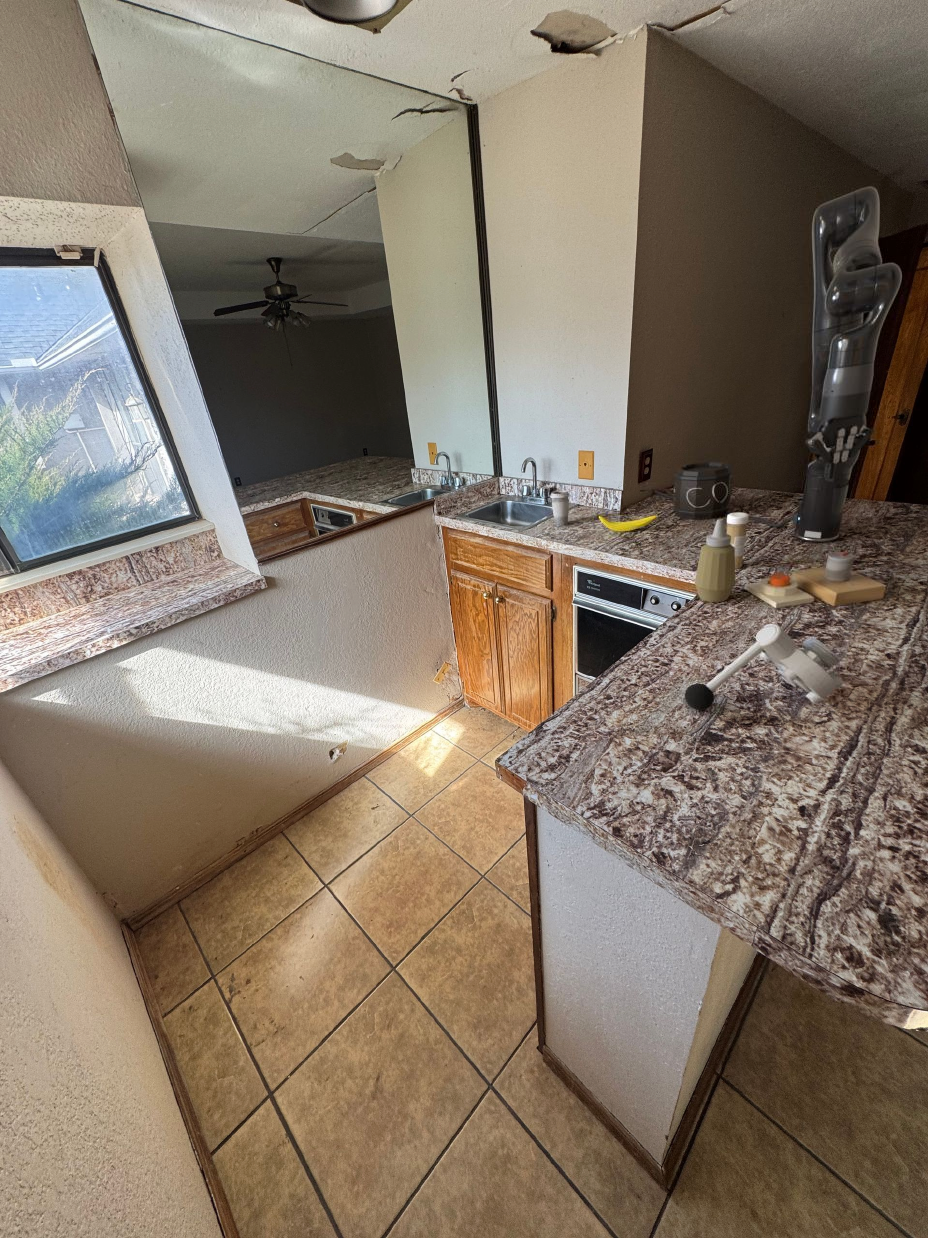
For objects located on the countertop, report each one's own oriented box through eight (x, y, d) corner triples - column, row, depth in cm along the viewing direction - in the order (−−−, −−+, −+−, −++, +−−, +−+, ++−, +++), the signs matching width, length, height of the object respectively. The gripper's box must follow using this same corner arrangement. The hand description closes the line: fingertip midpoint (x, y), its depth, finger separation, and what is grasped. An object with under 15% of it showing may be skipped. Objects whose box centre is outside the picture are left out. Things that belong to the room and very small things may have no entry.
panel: (790, 583, 109) (792, 570, 107) (833, 576, 109) (836, 563, 107) (833, 606, 97) (836, 592, 96) (882, 599, 97) (886, 584, 95)
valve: (722, 731, 83) (667, 681, 80) (820, 653, 78) (765, 596, 74) (757, 770, 74) (695, 716, 70) (870, 684, 68) (810, 621, 65)
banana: (657, 531, 154) (658, 512, 151) (596, 534, 161) (596, 515, 158) (657, 528, 157) (657, 509, 154) (597, 531, 163) (597, 513, 160)
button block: (744, 588, 110) (745, 576, 108) (778, 583, 110) (780, 571, 108) (775, 608, 100) (777, 595, 98) (813, 602, 100) (815, 589, 98)
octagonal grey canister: (742, 515, 156) (747, 466, 149) (686, 523, 157) (688, 474, 151) (716, 503, 172) (720, 458, 165) (666, 510, 174) (667, 466, 167)
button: (765, 582, 105) (766, 575, 104) (781, 579, 105) (782, 572, 104) (776, 588, 102) (777, 581, 101) (792, 585, 102) (794, 578, 101)
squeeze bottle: (731, 590, 110) (739, 513, 102) (736, 605, 103) (745, 524, 95) (692, 590, 113) (697, 515, 105) (695, 605, 106) (700, 526, 98)
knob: (840, 583, 99) (846, 559, 97) (819, 577, 103) (823, 554, 100) (854, 577, 100) (860, 553, 98) (832, 572, 104) (837, 549, 102)
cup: (573, 522, 177) (572, 489, 172) (567, 527, 173) (565, 494, 167) (555, 521, 181) (554, 489, 176) (548, 526, 176) (546, 494, 171)
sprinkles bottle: (719, 564, 124) (723, 513, 118) (737, 562, 124) (742, 510, 118) (727, 570, 120) (733, 517, 114) (746, 568, 119) (752, 515, 114)
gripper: (828, 397, 90) (815, 489, 97) (896, 383, 90) (878, 476, 97) (799, 397, 96) (789, 483, 104) (862, 384, 97) (848, 471, 104)
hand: (832, 480), depth 101 cm, fingers closed
